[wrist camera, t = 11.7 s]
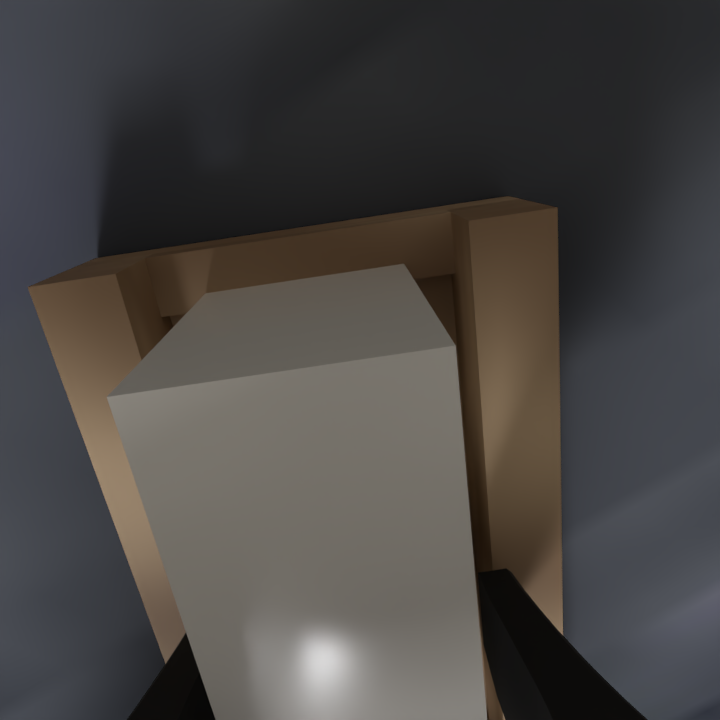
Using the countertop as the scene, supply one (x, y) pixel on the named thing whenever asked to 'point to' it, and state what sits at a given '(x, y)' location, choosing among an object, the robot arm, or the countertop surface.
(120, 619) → the countertop surface
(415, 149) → the countertop surface
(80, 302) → the oak rack
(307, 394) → the light grey rectangular block
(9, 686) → the countertop surface
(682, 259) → the countertop surface
